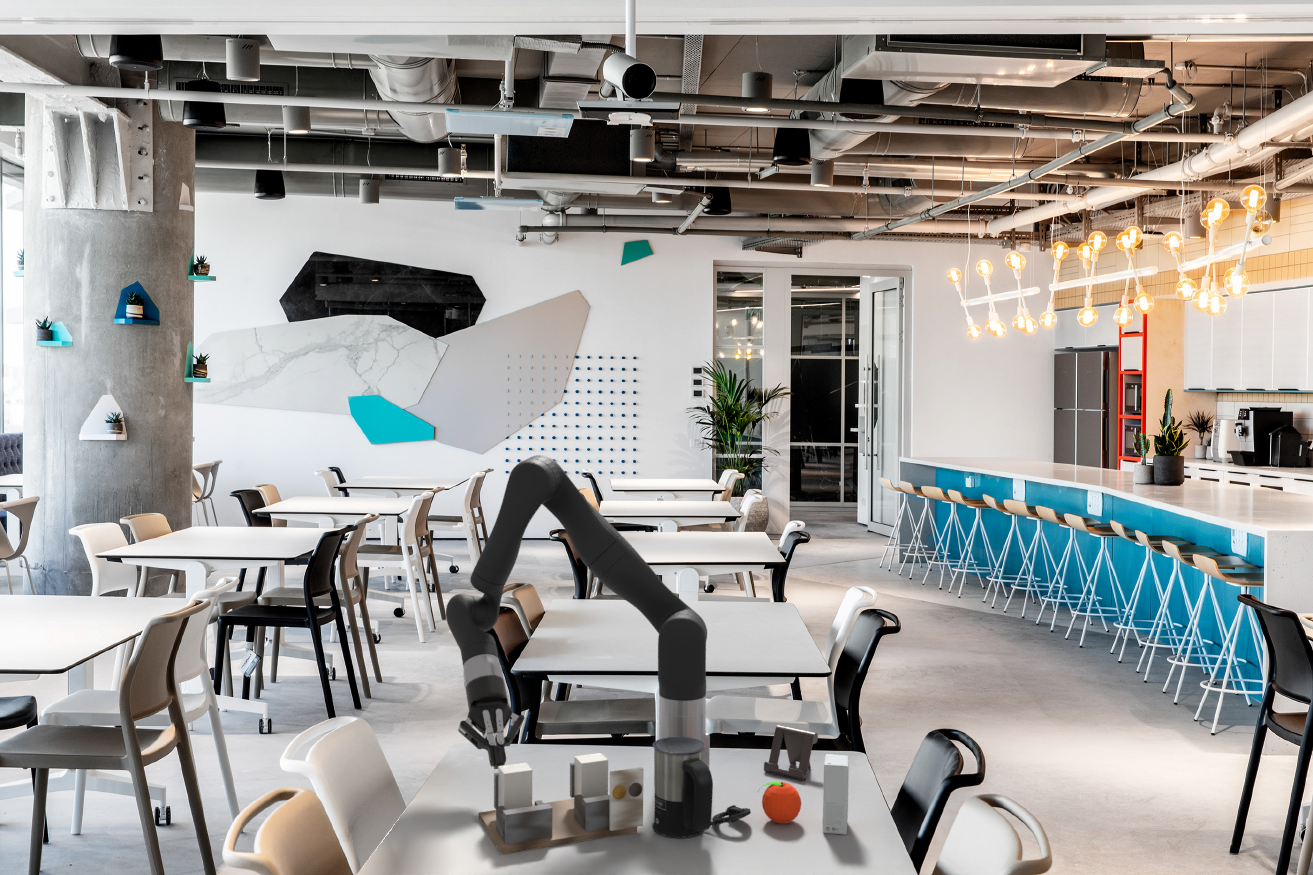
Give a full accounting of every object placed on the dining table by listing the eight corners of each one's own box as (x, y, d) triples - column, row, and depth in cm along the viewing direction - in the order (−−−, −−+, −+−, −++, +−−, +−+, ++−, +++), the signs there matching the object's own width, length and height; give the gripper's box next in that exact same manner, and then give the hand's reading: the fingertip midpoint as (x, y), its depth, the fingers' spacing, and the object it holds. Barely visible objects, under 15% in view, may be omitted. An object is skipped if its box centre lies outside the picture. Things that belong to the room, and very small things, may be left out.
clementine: (751, 824, 181) (751, 785, 180) (761, 810, 187) (762, 772, 187) (795, 832, 178) (796, 791, 177) (805, 817, 184) (805, 778, 184)
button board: (610, 798, 192) (610, 740, 192) (643, 831, 177) (643, 768, 177) (478, 817, 182) (478, 756, 182) (501, 854, 167) (502, 788, 167)
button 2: (600, 799, 188) (601, 750, 188) (610, 809, 184) (610, 759, 183) (569, 803, 186) (570, 754, 186) (578, 813, 181) (578, 763, 181)
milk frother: (640, 827, 179) (641, 743, 179) (700, 803, 190) (700, 723, 190) (702, 852, 169) (703, 763, 169) (761, 825, 181) (762, 741, 180)
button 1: (526, 810, 183) (527, 760, 183) (534, 820, 178) (535, 769, 178) (493, 815, 180) (494, 764, 180) (501, 825, 176) (501, 773, 176)
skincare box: (847, 835, 176) (848, 766, 176) (822, 833, 177) (823, 764, 177) (848, 821, 182) (849, 754, 182) (823, 819, 183) (824, 752, 183)
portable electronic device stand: (762, 772, 207) (763, 731, 207) (781, 761, 213) (781, 722, 213) (802, 782, 202) (802, 740, 201) (819, 770, 208) (820, 730, 208)
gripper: (453, 676, 194) (466, 761, 183) (521, 670, 199) (538, 752, 188) (447, 696, 199) (460, 780, 188) (514, 690, 204) (530, 771, 193)
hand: (499, 766), depth 188 cm, fingers closed
